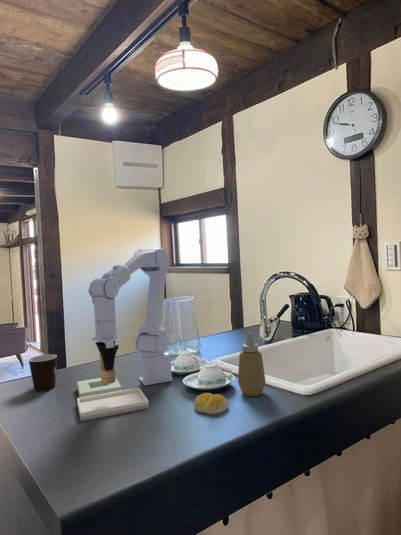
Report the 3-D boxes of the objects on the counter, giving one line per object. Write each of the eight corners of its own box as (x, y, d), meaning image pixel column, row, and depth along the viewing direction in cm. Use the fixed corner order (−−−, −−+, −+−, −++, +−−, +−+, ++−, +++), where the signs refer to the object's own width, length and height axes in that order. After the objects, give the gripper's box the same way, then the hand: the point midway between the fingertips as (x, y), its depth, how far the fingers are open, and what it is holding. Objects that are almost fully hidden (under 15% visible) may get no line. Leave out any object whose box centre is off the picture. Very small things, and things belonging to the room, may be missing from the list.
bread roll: (204, 401, 110) (203, 387, 110) (232, 406, 106) (231, 392, 105) (187, 411, 104) (187, 396, 103) (216, 418, 99) (216, 402, 99)
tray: (139, 393, 118) (139, 387, 118) (148, 407, 107) (148, 400, 107) (77, 404, 111) (77, 398, 111) (80, 421, 100) (80, 413, 100)
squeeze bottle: (271, 392, 114) (269, 331, 113) (255, 400, 108) (252, 336, 108) (249, 386, 120) (246, 328, 119) (232, 394, 114) (230, 333, 113)
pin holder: (115, 383, 129) (114, 375, 129) (121, 394, 118) (121, 386, 118) (77, 389, 125) (77, 381, 125) (80, 401, 114) (80, 393, 113)
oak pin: (114, 378, 113) (113, 351, 113) (116, 382, 109) (115, 354, 109) (100, 380, 112) (98, 353, 111) (102, 384, 108) (100, 356, 108)
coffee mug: (49, 393, 122) (47, 361, 122) (24, 392, 124) (22, 361, 124) (68, 380, 134) (66, 352, 133) (46, 380, 135) (44, 352, 135)
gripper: (88, 318, 115) (91, 363, 116) (93, 325, 102) (96, 377, 102) (112, 315, 118) (115, 360, 118) (120, 323, 104) (123, 373, 105)
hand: (108, 367), depth 110 cm, fingers closed on oak pin, 4 cm apart
